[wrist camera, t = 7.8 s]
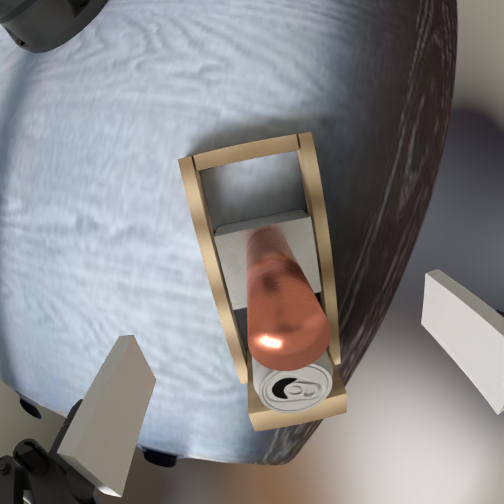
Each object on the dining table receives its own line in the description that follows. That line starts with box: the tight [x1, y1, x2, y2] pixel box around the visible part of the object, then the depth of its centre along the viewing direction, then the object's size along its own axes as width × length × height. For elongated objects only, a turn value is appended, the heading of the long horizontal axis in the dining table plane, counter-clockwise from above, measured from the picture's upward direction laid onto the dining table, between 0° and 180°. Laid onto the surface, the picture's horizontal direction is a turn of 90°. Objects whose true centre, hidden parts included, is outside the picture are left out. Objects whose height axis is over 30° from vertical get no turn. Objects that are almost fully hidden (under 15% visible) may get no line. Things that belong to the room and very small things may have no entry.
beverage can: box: [252, 350, 333, 413], centre depth 25 cm, size 6×6×12 cm
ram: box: [214, 209, 331, 371], centre depth 20 cm, size 7×8×17 cm
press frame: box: [178, 132, 347, 431], centre depth 24 cm, size 25×12×10 cm, turn 12°
